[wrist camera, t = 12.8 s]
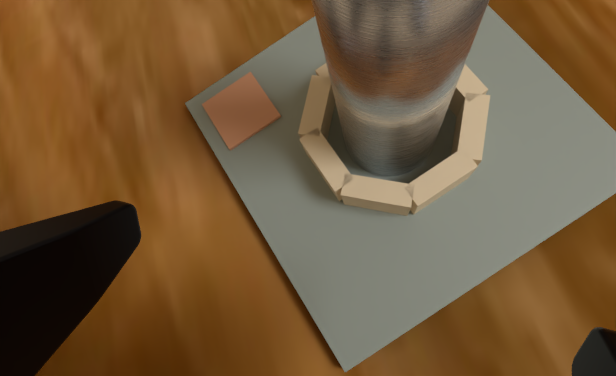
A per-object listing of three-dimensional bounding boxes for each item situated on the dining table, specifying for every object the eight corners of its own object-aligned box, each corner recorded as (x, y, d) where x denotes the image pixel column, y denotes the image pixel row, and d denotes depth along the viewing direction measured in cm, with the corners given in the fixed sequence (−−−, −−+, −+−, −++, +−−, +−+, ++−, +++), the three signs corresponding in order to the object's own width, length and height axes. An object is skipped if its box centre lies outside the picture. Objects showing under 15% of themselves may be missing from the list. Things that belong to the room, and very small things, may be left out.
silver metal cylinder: (412, 191, 19) (498, -61, 5) (329, 155, 20) (224, -128, 6) (450, 111, 19) (613, -297, 6) (367, 81, 20) (345, -318, 7)
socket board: (346, 368, 18) (341, 382, 15) (191, 109, 23) (166, 85, 20) (640, 173, 18) (687, 153, 15) (423, -46, 23) (429, -91, 20)
